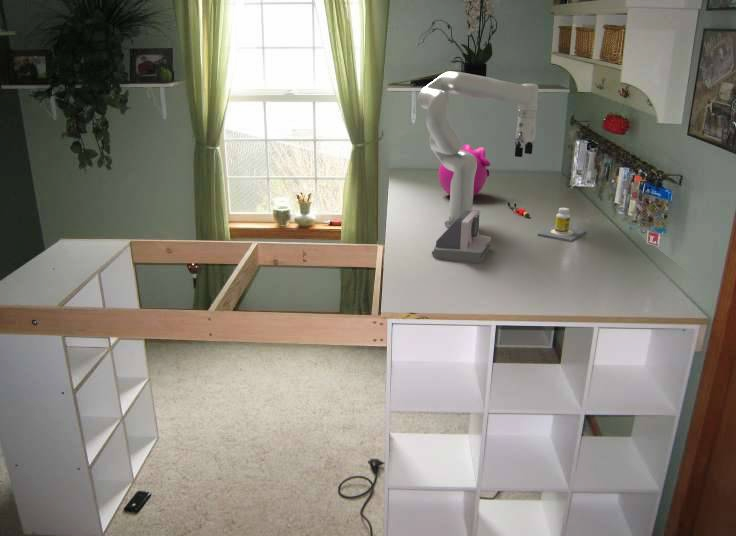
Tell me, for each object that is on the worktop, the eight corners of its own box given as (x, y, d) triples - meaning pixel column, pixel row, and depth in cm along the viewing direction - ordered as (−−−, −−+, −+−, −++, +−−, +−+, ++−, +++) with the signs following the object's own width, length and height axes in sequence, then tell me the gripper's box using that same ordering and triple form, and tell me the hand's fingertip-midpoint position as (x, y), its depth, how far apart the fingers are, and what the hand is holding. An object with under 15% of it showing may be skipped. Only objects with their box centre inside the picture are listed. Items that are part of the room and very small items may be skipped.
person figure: (516, 199, 308) (532, 208, 291) (518, 207, 309) (533, 216, 292) (506, 203, 307) (521, 212, 291) (508, 210, 309) (523, 220, 292)
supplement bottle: (566, 234, 265) (568, 211, 262) (552, 232, 268) (555, 209, 265) (570, 231, 270) (572, 208, 266) (557, 229, 272) (559, 206, 269)
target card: (571, 241, 259) (571, 239, 259) (537, 235, 267) (537, 233, 267) (585, 232, 271) (585, 230, 271) (553, 226, 279) (553, 224, 279)
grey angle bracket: (476, 266, 232) (479, 225, 227) (424, 256, 242) (425, 217, 237) (497, 250, 249) (500, 212, 244) (447, 241, 259) (449, 204, 254)
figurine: (496, 198, 326) (499, 148, 317) (459, 205, 313) (462, 152, 305) (464, 189, 344) (466, 141, 336) (428, 195, 331) (430, 145, 323)
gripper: (526, 117, 266) (522, 159, 272) (543, 113, 279) (539, 153, 285) (509, 115, 270) (506, 157, 276) (527, 111, 283) (523, 151, 289)
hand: (523, 155), depth 281 cm, fingers open, 9 cm apart
